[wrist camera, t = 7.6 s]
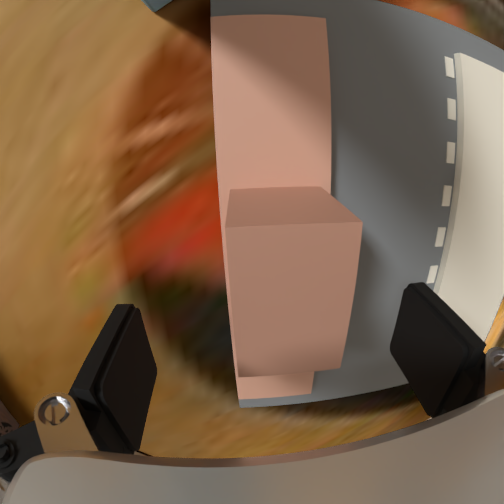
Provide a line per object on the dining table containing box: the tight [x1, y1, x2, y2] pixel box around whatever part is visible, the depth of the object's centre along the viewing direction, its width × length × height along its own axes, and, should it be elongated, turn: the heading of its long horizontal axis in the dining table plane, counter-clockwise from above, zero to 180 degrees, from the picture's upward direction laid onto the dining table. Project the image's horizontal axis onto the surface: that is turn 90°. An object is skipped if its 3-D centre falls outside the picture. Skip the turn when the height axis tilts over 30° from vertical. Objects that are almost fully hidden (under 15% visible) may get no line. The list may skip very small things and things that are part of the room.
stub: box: [210, 15, 363, 399], centre depth 12 cm, size 22×5×6 cm, turn 2°
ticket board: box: [211, 0, 504, 408], centre depth 15 cm, size 26×22×2 cm
